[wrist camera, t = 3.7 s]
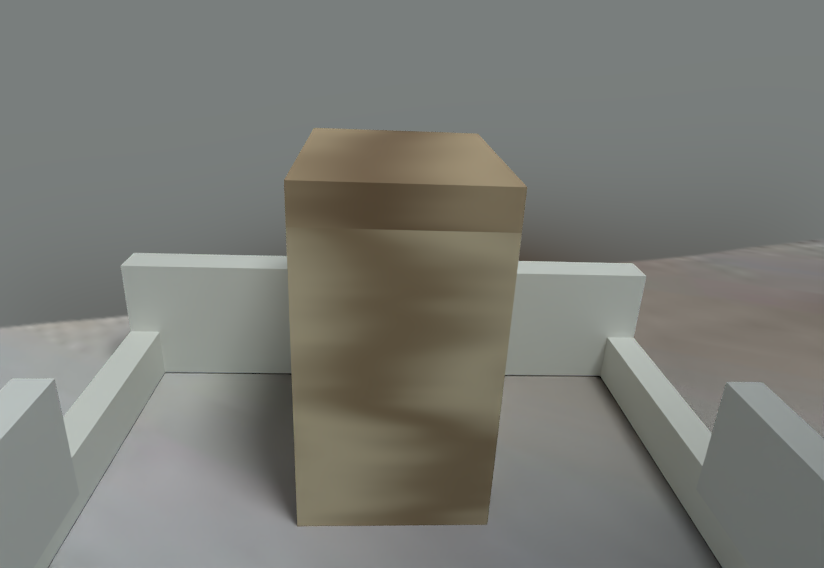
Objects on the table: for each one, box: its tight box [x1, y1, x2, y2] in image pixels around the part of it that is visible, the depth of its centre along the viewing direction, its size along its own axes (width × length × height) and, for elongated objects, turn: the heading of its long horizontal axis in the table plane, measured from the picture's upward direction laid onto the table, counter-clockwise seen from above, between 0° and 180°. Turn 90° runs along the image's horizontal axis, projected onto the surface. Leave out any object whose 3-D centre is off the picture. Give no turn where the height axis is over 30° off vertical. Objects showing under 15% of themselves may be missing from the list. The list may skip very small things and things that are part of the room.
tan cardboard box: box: [284, 128, 527, 526], centre depth 21 cm, size 6×8×11 cm
